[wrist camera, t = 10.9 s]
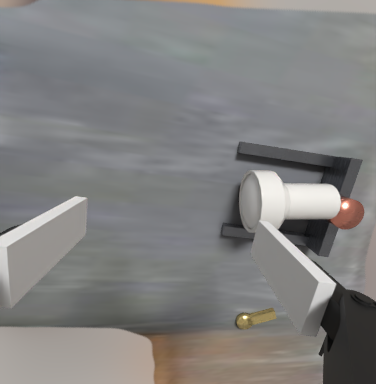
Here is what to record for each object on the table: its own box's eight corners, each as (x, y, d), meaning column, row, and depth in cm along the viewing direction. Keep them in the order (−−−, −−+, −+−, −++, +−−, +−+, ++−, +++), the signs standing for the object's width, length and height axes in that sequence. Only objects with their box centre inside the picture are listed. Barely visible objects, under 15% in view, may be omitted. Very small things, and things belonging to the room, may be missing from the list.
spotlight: (239, 162, 28) (262, 184, 21) (317, 163, 29) (366, 185, 22) (232, 212, 32) (249, 246, 24) (302, 212, 32) (340, 245, 25)
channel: (221, 231, 32) (229, 250, 27) (239, 141, 29) (253, 142, 23) (318, 244, 33) (344, 264, 28) (347, 158, 30) (383, 162, 24)
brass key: (237, 327, 37) (239, 331, 36) (234, 315, 36) (235, 318, 35) (274, 317, 37) (276, 321, 36) (272, 305, 36) (274, 308, 35)
